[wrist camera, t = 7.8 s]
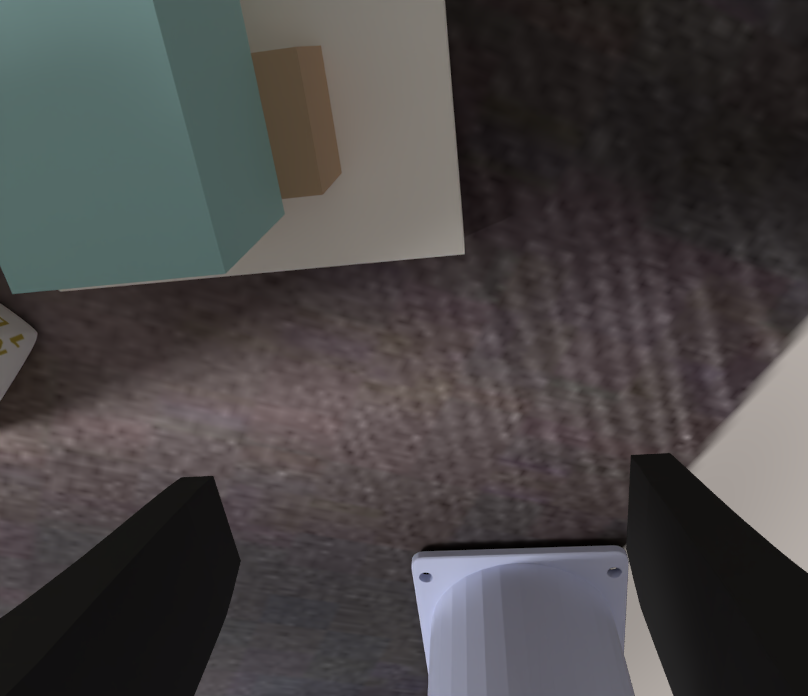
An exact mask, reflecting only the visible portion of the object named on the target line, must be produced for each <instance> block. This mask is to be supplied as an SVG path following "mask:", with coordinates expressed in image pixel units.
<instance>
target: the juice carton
mask: <svg viewBox="0 0 808 696" xmlns="http://www.w3.org/2000/svg"><path fill="white" fill-rule="evenodd" d="M37 334H38V333H37V331H36V330H35V329H34V328H33V327H31V326H30V325H29V324H28V323H26V322H25V321H24V320H23V319H21V318H20V317H19V316H17V315H16V314H15V313H13V312H12V311H10V310H9V309H8V308H6V307H5V306H3V305H2V304H1V303H0V401H1V399H2V398H3V396H4V394H5V393H6V391H7V390H8V388H9V387H10V385H11V383H12V382H13V380H14V379H15V377H16V375H17V374H18V372H19V370H20V369H21V367H22V366H23V364H24V362H25V360H26V359H27V357H28V355H29V354H30V352H31V350H32V348H33V346H34V344H35V342H36V339H37Z"/></svg>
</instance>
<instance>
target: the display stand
mask: <svg viewBox="0 0 808 696" xmlns="http://www.w3.org/2000/svg"><path fill="white" fill-rule="evenodd" d="M240 5H241V9H242V14H243V19H244V23H245V28H246V33H247V38H248V42H249V47H250V52H251V57H252V61H253V66H254V71H255V75H256V80H257V85H258V90H259V94H260V99H261V104H262V108H263V113H264V118H265V123H266V127H267V132H268V137H269V142H270V146H271V151H272V156H273V160H274V165H275V170H276V175H277V179H278V184H279V189H280V193H281V198H282V203H283V208H284V212H285V215H284V216H283V217H282V218H281V219H280V220H279V221H278V222H277V223H276V224H275V225H274V226H273V227H272V228H271V229H270V230H269V231H268V232H267V233H266V234H265V235H264V236H263V237H262V238H261V239H260V240H259V241H258V242H257V243H256V244H255V245H254V246H253V247H252V248H251V249H250V250H249V251H248V252H247V253H246V254H245V255H244V256H243V257H242V258H241V259H240V260H239V261H238V262H237V263H236V264H235V265H234V266H233V267H232V268H231V269H230V270H229V271H228V272H227V273H226V274H218V275H208V276H197V277H187V278H176V279H166V280H155V281H145V282H134V283H124V284H113V285H103V286H92V287H82V288H71V289H61V290H59V291H60V292H62V291H73V290H84V289H95V288H106V287H116V286H127V285H138V284H149V283H159V282H170V281H181V280H192V279H203V278H213V277H224V276H235V275H246V274H257V273H267V272H278V271H289V270H300V269H311V268H321V267H332V266H343V265H354V264H364V263H375V262H386V261H397V260H408V259H418V258H429V257H440V256H451V255H462V254H465V244H464V228H463V216H462V203H461V191H460V179H459V166H458V154H457V142H456V130H455V117H454V105H453V93H452V80H451V68H450V56H449V44H448V31H447V19H446V7H445V0H240Z"/></svg>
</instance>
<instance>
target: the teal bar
mask: <svg viewBox="0 0 808 696" xmlns="http://www.w3.org/2000/svg"><path fill="white" fill-rule="evenodd" d="M284 215H285V212H284V208H283V203H282V198H281V193H280V189H279V184H278V179H277V175H276V170H275V165H274V160H273V156H272V151H271V146H270V142H269V137H268V132H267V127H266V123H265V118H264V113H263V108H262V104H261V99H260V94H259V90H258V85H257V80H256V75H255V71H254V66H253V61H252V57H251V52H250V47H249V42H248V38H247V33H246V28H245V23H244V19H243V14H242V9H241V5H240V0H0V266H1V269H2V271H3V273H4V276H5V278H6V280H7V283H8V285H9V287H10V289H11V292H12V294H18V293H29V292H39V291H50V290H61V289H71V288H82V287H92V286H103V285H113V284H124V283H134V282H145V281H155V280H166V279H176V278H187V277H197V276H208V275H218V274H226V273H227V272H228V271H229V270H230V269H231V268H232V267H233V266H234V265H235V264H236V263H237V262H238V261H239V260H240V259H241V258H242V257H243V256H244V255H245V254H246V253H247V252H248V251H249V250H250V249H251V248H252V247H253V246H254V245H255V244H256V243H257V242H258V241H259V240H260V239H261V238H262V237H263V236H264V235H265V234H266V233H267V232H268V231H269V230H270V229H271V228H272V227H273V226H274V225H275V224H276V223H277V222H278V221H279V220H280V219H281V218H282V217H283V216H284Z"/></svg>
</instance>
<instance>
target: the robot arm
mask: <svg viewBox="0 0 808 696" xmlns="http://www.w3.org/2000/svg"><path fill="white" fill-rule="evenodd" d="M626 550H627V554H628V557H627V554H626V551H625V550H624V549H623V548H622V547H620V546H614V545H608V546H576V547H545V548H514V549H482V550H451V551H423V552H418V553H417V554H415V555H414V556H413V558H412V573H413V580H414V586H415V592H416V599H417V605H418V611H419V618H420V624H421V630H422V636H423V643H424V649H425V655H426V662H427V668H428V674H429V679H428V696H635V695H634V691H633V687H632V683H631V680H630V676H629V673H628V669H627V665H626V661H625V657H624V638H625V620H626V619H625V618H626V601H627V600H626V599H627V582H628V563H629V562H630V566H631V570H632V575H633V579H634V583H635V587H636V590H637V595H638V599H639V602H640V606H641V610H642V612H643V615H644V618H645V621H646V623H647V626H648V629H649V631H650V634H651V637H652V640H653V642H654V645H655V648H656V650H657V653H658V656H659V658H660V661H661V663H662V666H663V669H664V672H665V674H666V677H667V680H668V682H669V685H670V687H671V690H672V693H673V695H674V696H808V573H807V572H806V571H804V570H803V569H802V568H800V567H799V566H798V565H796V564H795V563H794V562H793V561H791V560H790V559H789V558H788V557H786V556H785V555H784V554H783V553H781V552H780V551H779V550H778V549H777V548H776V547H774V546H773V545H772V544H771V543H769V541H767V540H766V539H765V538H764V537H763V536H761V535H760V534H759V533H758V532H757V531H756V530H754V529H753V528H752V527H751V526H750V525H749V524H747V523H746V522H745V521H744V520H743V519H742V518H741V517H739V516H738V515H737V514H736V513H735V512H734V511H733V510H731V509H730V508H729V507H728V506H727V505H726V504H725V503H724V502H723V501H722V500H721V499H719V498H718V497H717V496H716V495H715V494H714V493H713V492H712V491H710V489H708V488H707V487H706V486H705V485H704V484H703V483H702V482H701V481H700V480H699V479H698V478H697V477H696V476H694V475H693V474H692V473H691V472H690V471H689V470H688V469H687V468H686V467H685V466H684V465H683V464H681V463H680V462H679V461H678V460H677V459H676V458H675V457H674V456H672V455H671V454H670V453H664V454H644V455H631V465H630V485H629V505H628V525H627V546H626ZM628 558H629V561H628ZM240 562H241V560H240V557H239V554H238V551H237V548H236V545H235V542H234V539H233V536H232V533H231V530H230V526H229V523H228V520H227V517H226V514H225V511H224V508H223V505H222V502H221V499H220V496H219V492H218V489H217V486H216V483H215V480H214V477H213V476H202V477H182V478H180V479H178V480H177V481H176V482H174V483H173V484H171V485H170V486H169V487H167V488H166V489H165V490H164V491H162V492H161V493H160V494H159V495H157V496H156V497H155V498H154V499H152V500H151V501H150V502H149V503H147V504H146V505H145V506H144V507H142V508H141V509H140V510H139V511H138V512H136V513H135V514H134V515H133V516H132V517H130V518H129V519H128V520H127V521H125V522H124V523H123V524H122V525H121V526H119V527H118V528H117V529H116V530H114V531H113V532H112V533H111V534H110V535H108V536H107V537H106V538H105V539H103V540H102V541H101V542H100V543H99V544H97V545H96V546H95V547H94V548H92V549H91V550H90V551H89V552H87V553H86V554H85V555H84V556H83V557H81V558H80V559H79V560H78V561H76V562H75V563H74V564H72V565H71V566H70V567H68V568H67V569H66V570H64V571H63V572H62V573H60V574H59V575H58V576H57V577H55V578H54V579H53V580H51V581H50V582H49V583H47V584H46V585H45V586H43V587H42V588H41V589H39V590H38V591H37V592H36V593H34V594H33V595H32V596H30V597H29V598H28V599H26V600H25V601H24V602H22V603H21V604H20V605H18V606H17V607H16V608H14V609H13V610H11V611H10V612H9V613H7V614H6V615H4V616H3V617H2V618H0V696H194V694H195V692H196V690H197V687H198V685H199V682H200V680H201V677H202V675H203V673H204V670H205V668H206V665H207V663H208V660H209V658H210V655H211V653H212V650H213V648H214V646H215V643H216V641H217V638H218V636H219V633H220V631H221V628H222V625H223V623H224V620H225V618H226V615H227V611H228V608H229V604H230V601H231V597H232V594H233V590H234V586H235V582H236V578H237V574H238V570H239V566H240ZM613 567H616V569H612V570H611V569H610V568H613ZM423 573H429V574H428V575H426V574H423Z"/></svg>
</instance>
